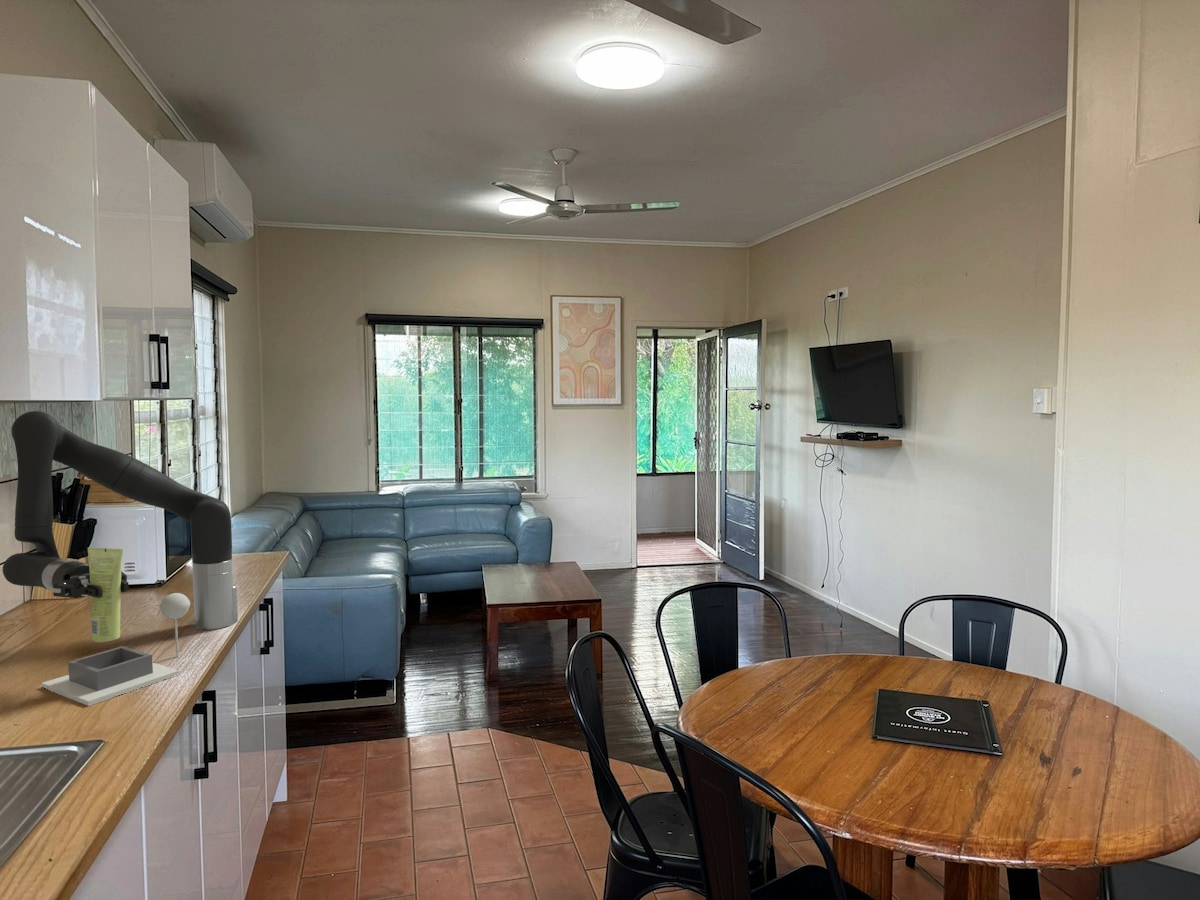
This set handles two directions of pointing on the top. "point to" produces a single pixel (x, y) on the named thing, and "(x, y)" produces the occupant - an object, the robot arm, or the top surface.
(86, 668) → the socket
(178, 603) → the lollipop
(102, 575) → the tube
